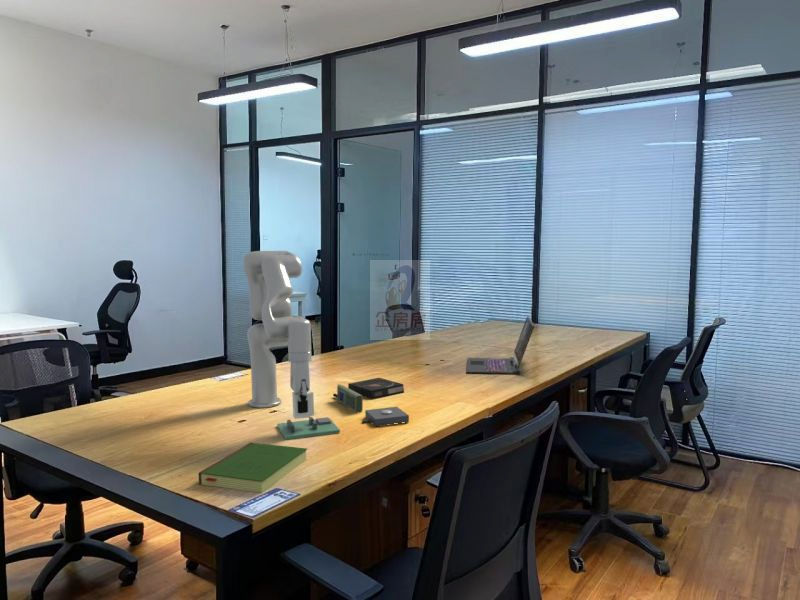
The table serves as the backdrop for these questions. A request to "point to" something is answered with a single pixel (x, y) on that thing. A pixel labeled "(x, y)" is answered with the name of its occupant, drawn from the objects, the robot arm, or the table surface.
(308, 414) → the plug
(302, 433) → the board
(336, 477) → the table surface
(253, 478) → the hardcover book
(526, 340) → the laptop
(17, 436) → the table surface
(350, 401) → the handheld radio
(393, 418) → the gray dome slab
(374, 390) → the portable cd player
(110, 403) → the table surface
